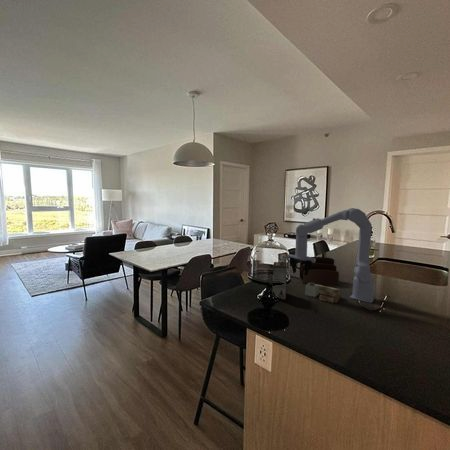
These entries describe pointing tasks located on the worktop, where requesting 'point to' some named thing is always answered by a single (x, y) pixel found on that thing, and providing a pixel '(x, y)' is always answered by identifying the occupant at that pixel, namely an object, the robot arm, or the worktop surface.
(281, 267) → the coffee box
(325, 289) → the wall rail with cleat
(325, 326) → the worktop surface
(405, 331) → the worktop surface
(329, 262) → the letter holder
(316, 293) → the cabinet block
